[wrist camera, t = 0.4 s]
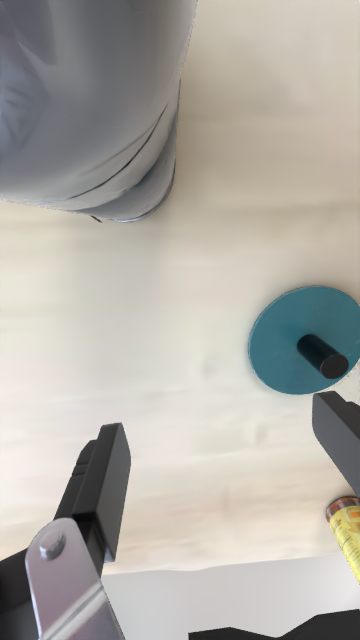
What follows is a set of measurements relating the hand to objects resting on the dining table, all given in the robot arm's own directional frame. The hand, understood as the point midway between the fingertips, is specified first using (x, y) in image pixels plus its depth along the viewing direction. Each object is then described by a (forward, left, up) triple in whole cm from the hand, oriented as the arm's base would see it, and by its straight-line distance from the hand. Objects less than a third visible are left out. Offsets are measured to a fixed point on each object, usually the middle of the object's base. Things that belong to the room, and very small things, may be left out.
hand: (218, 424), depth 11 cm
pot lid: (+6, +12, -17) cm, 22 cm away
